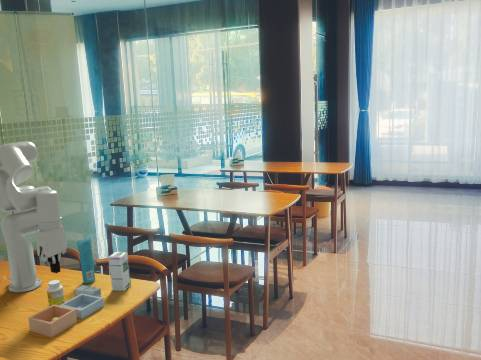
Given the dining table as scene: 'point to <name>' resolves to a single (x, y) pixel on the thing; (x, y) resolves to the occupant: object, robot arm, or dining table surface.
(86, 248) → the tube
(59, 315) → the salmon pink open box
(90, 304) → the light blue open box
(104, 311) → the dining table surface
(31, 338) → the dining table surface
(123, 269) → the syrup box
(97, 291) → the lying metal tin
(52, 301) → the supplement bottle
